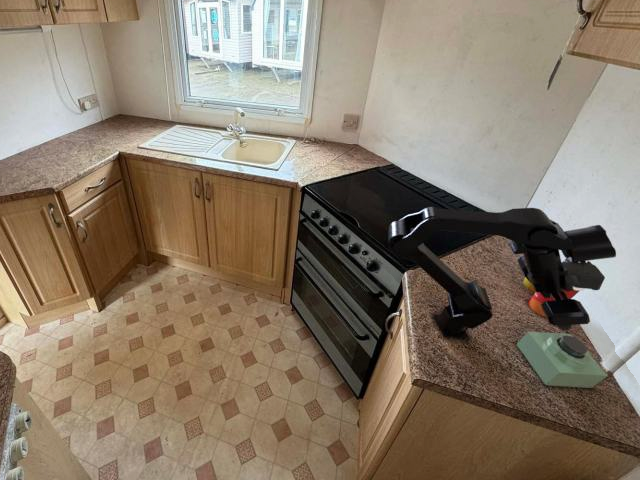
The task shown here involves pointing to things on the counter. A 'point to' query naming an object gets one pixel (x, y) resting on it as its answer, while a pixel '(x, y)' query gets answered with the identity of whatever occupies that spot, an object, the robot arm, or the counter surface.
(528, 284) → the lemon
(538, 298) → the paper cup
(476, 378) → the counter surface
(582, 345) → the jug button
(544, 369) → the green flat block
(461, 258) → the counter surface
